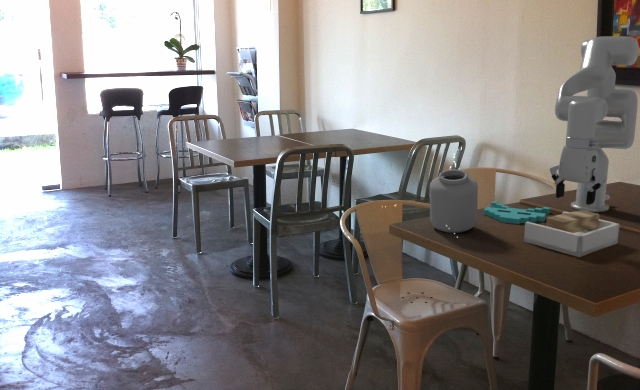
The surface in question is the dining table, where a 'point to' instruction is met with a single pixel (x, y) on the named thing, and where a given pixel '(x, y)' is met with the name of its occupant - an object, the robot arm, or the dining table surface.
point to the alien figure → (515, 213)
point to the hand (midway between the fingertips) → (574, 200)
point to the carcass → (573, 238)
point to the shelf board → (574, 221)
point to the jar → (453, 201)
